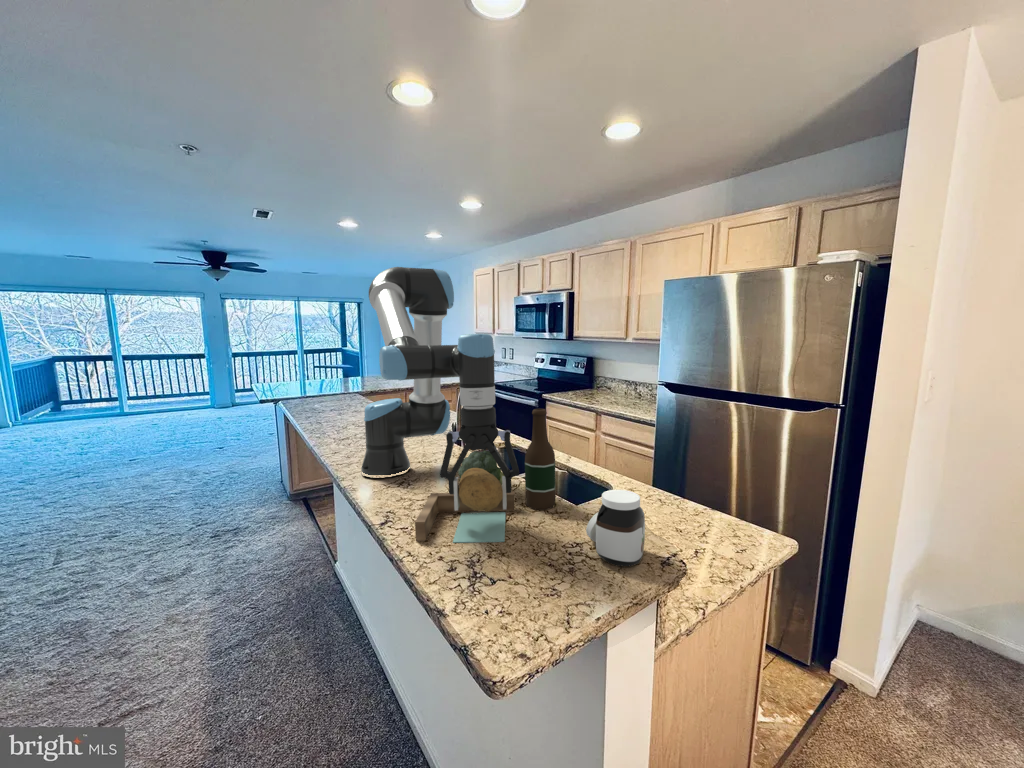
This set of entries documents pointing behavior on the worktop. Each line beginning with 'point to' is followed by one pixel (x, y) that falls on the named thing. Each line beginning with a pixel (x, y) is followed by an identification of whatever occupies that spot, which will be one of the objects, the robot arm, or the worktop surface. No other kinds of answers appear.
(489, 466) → the vegetable
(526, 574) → the worktop surface
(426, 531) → the corner arena
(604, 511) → the spread jar
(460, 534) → the pad
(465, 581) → the worktop surface
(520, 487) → the worktop surface
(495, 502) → the potato
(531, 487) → the beer bottle
